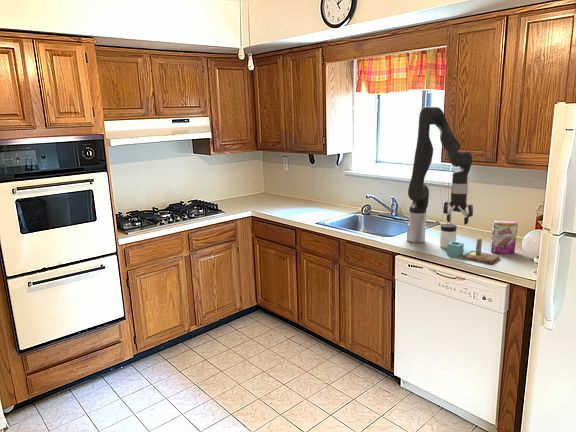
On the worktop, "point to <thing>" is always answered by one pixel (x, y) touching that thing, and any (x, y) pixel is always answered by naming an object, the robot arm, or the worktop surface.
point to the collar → (455, 249)
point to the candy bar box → (503, 237)
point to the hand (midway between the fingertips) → (457, 223)
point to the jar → (447, 234)
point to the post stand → (480, 255)
